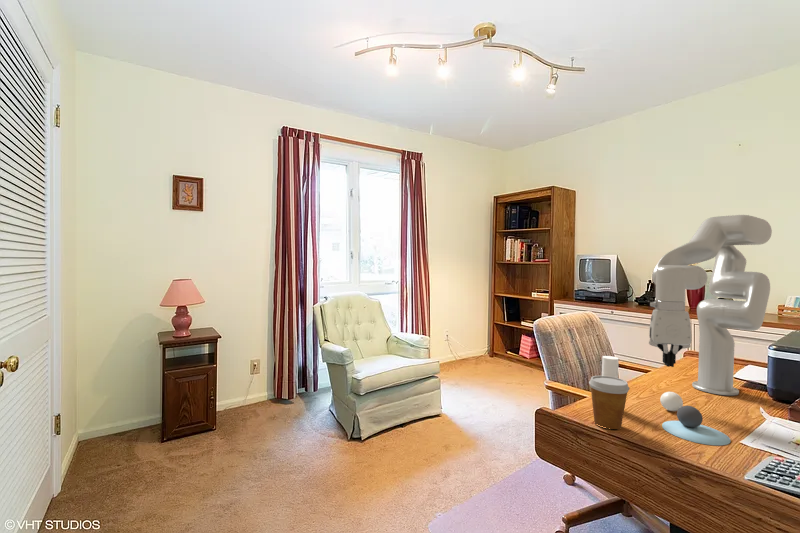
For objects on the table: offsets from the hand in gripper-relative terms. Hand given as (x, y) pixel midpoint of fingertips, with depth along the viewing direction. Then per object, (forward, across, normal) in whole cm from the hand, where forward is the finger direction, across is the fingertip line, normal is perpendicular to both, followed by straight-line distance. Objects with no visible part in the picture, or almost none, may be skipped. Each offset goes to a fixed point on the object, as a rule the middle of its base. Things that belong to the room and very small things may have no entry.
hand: (668, 365), depth 120 cm
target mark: (+12, -1, -22) cm, 25 cm away
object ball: (+9, -1, -18) cm, 20 cm away
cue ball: (+9, -1, -6) cm, 11 cm away
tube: (+12, -18, -10) cm, 24 cm away
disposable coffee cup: (+11, -21, -25) cm, 35 cm away
